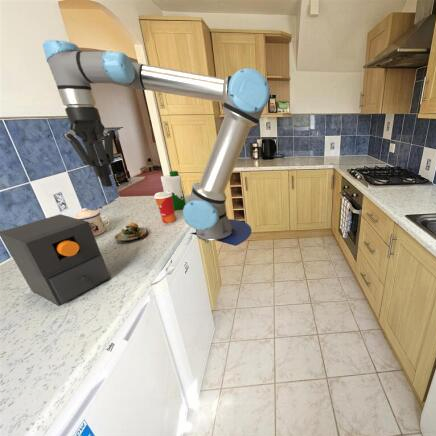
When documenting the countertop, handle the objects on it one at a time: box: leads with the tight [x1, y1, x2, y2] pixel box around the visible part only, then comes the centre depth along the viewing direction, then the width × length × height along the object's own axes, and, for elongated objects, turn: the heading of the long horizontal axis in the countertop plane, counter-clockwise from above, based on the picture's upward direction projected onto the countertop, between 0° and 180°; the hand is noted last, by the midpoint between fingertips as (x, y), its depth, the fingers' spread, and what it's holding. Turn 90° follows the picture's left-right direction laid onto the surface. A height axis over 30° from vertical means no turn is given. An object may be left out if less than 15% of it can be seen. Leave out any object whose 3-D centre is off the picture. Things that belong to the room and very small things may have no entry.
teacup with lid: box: [72, 207, 111, 237], centre depth 106 cm, size 12×9×12 cm
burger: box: [114, 219, 149, 242], centre depth 102 cm, size 12×12×8 cm
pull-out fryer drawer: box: [49, 255, 111, 304], centre depth 72 cm, size 16×12×8 cm
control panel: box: [0, 213, 101, 277], centre depth 69 cm, size 15×14×10 cm
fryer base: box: [16, 251, 111, 307], centre depth 73 cm, size 16×14×10 cm
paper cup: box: [153, 191, 176, 224], centre depth 116 cm, size 8×8×14 cm
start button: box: [56, 240, 79, 256], centre depth 66 cm, size 2×4×4 cm, turn 155°
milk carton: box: [160, 170, 187, 212], centre depth 131 cm, size 9×9×20 cm
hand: (107, 185), depth 79 cm, fingers closed
